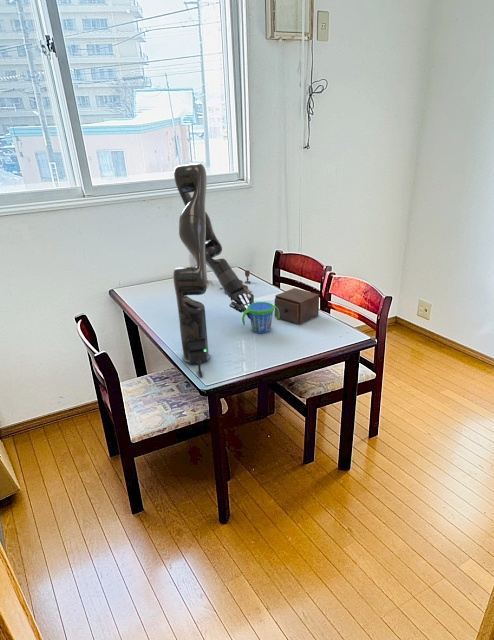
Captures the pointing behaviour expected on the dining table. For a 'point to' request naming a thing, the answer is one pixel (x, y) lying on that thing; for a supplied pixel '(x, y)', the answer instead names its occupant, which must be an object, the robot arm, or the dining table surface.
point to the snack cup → (260, 316)
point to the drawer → (287, 310)
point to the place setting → (245, 282)
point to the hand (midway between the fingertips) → (253, 318)
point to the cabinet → (302, 303)
